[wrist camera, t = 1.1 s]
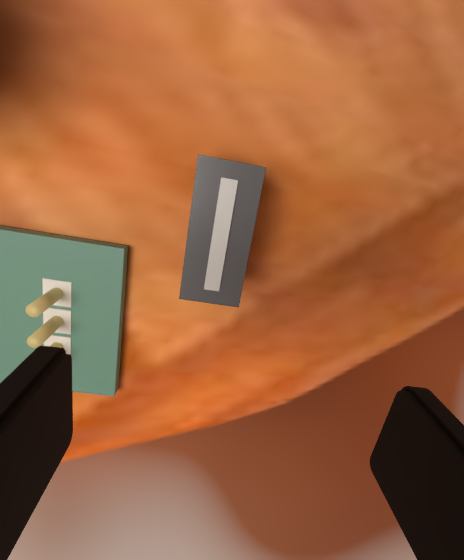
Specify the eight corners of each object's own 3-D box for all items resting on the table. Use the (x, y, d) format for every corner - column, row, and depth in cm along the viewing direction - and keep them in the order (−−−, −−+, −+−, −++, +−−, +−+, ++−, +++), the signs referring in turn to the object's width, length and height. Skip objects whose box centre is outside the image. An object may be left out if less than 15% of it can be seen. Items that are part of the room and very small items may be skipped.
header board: (-2, 225, 24) (-52, 236, 19) (128, 245, 25) (109, 260, 20) (7, 375, 28) (-32, 412, 24) (118, 387, 29) (100, 425, 25)
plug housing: (202, 159, 23) (198, 154, 17) (254, 169, 24) (266, 167, 18) (187, 272, 26) (178, 299, 20) (233, 279, 26) (238, 308, 20)
